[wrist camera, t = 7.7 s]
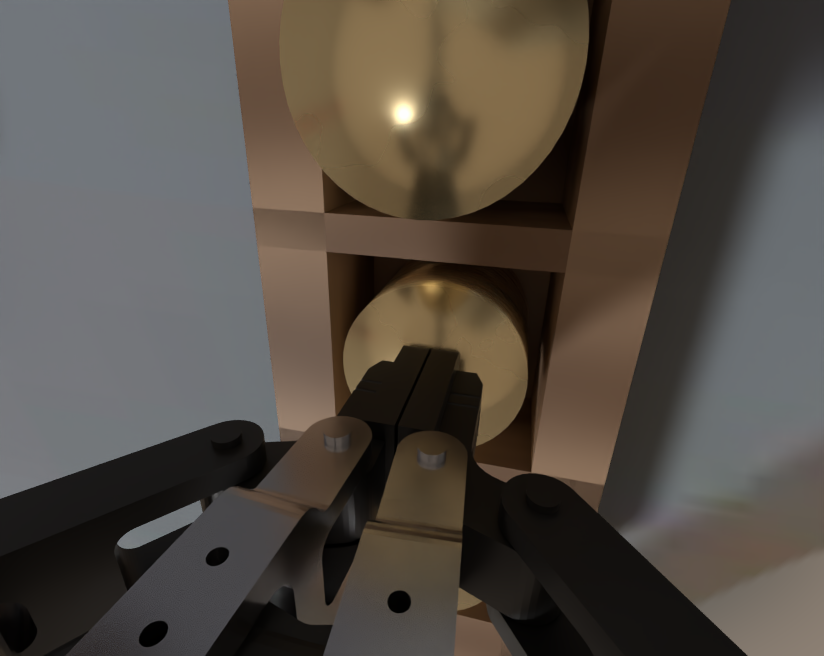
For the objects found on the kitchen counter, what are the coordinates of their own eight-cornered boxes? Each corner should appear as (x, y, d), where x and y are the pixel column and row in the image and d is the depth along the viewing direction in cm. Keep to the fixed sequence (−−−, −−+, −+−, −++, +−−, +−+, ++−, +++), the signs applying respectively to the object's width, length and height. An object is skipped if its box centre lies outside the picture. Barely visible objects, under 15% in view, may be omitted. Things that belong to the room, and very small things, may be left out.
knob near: (361, -37, 11) (263, -131, 7) (585, -48, 10) (623, -167, 6) (365, 184, 13) (292, 211, 9) (549, 195, 12) (559, 230, 8)
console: (312, -129, 13) (196, -266, 8) (704, -166, 11) (828, -373, 6) (345, 521, 23) (301, 616, 19) (548, 565, 21) (552, 683, 17)
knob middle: (387, 238, 15) (339, 276, 12) (538, 250, 14) (540, 296, 11) (387, 366, 18) (346, 435, 14) (518, 384, 17) (515, 465, 13)
